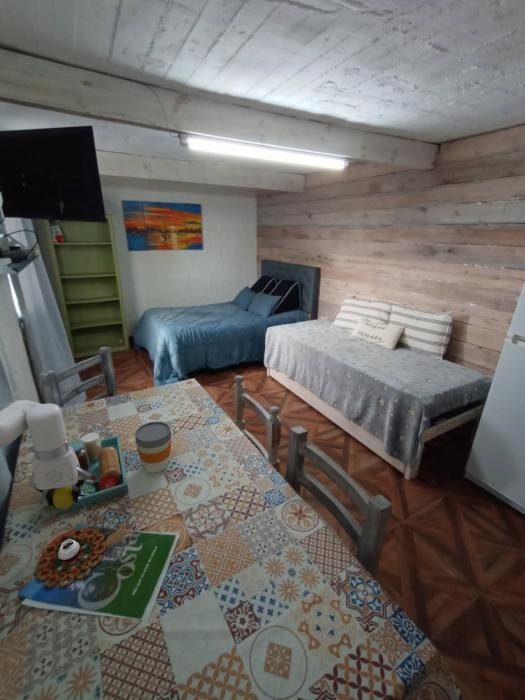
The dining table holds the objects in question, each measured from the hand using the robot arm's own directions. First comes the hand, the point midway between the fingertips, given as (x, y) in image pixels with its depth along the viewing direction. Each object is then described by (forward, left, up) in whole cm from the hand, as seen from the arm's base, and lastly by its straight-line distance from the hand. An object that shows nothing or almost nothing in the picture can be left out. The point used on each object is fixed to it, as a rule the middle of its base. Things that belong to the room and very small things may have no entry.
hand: (64, 499), depth 90 cm
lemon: (0, 0, -3) cm, 3 cm away
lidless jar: (+2, -9, -10) cm, 14 cm away
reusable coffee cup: (+23, +22, -10) cm, 33 cm away
